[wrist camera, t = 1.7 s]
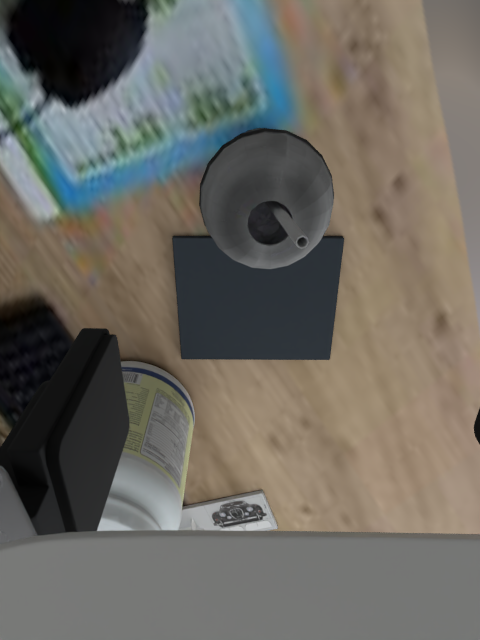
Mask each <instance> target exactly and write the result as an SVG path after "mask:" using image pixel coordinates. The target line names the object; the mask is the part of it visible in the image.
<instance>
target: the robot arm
mask: <svg viewBox="0 0 480 640" xmlns="http://www.w3.org/2000/svg"><path fill="white" fill-rule="evenodd" d="M128 432H129V414H128V407H127V400H126V394H125V387H124V380H123V374H122V367H121V361H120V354H119V347H118V341H117V337H116V335H110V334H109V331H108V330H107V329H91V328H84V329H82V330H81V331H80V333H79V335H78V336H77V338H76V339H75V341H74V343H73V344H72V346H71V347H70V349H69V351H68V352H67V354H66V355H65V357H64V359H63V360H62V362H61V364H60V365H59V367H58V368H57V370H56V372H55V373H54V375H53V376H52V378H51V380H50V381H46V382H43V383H42V384H41V386H40V387H39V388H38V390H37V391H36V393H35V394H34V396H33V398H32V399H31V401H30V402H29V404H28V405H27V407H26V408H25V410H24V412H23V413H22V415H21V416H20V418H19V419H18V421H17V422H16V424H15V426H14V427H13V429H12V430H11V432H10V433H9V435H8V437H7V438H6V440H5V441H4V443H3V444H2V446H1V447H0V640H480V534H440V533H380V532H314V531H221V530H124V531H97V529H98V526H99V523H100V520H101V517H102V514H103V510H104V507H105V504H106V501H107V498H108V495H109V492H110V489H111V486H112V482H113V479H114V476H115V473H116V470H117V467H118V464H119V461H120V458H121V454H122V451H123V448H124V445H125V442H126V439H127V436H128ZM474 433H475V437H476V439H477V441H478V442H479V444H480V409H479V412H478V415H477V418H476V420H475V424H474Z"/></svg>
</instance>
